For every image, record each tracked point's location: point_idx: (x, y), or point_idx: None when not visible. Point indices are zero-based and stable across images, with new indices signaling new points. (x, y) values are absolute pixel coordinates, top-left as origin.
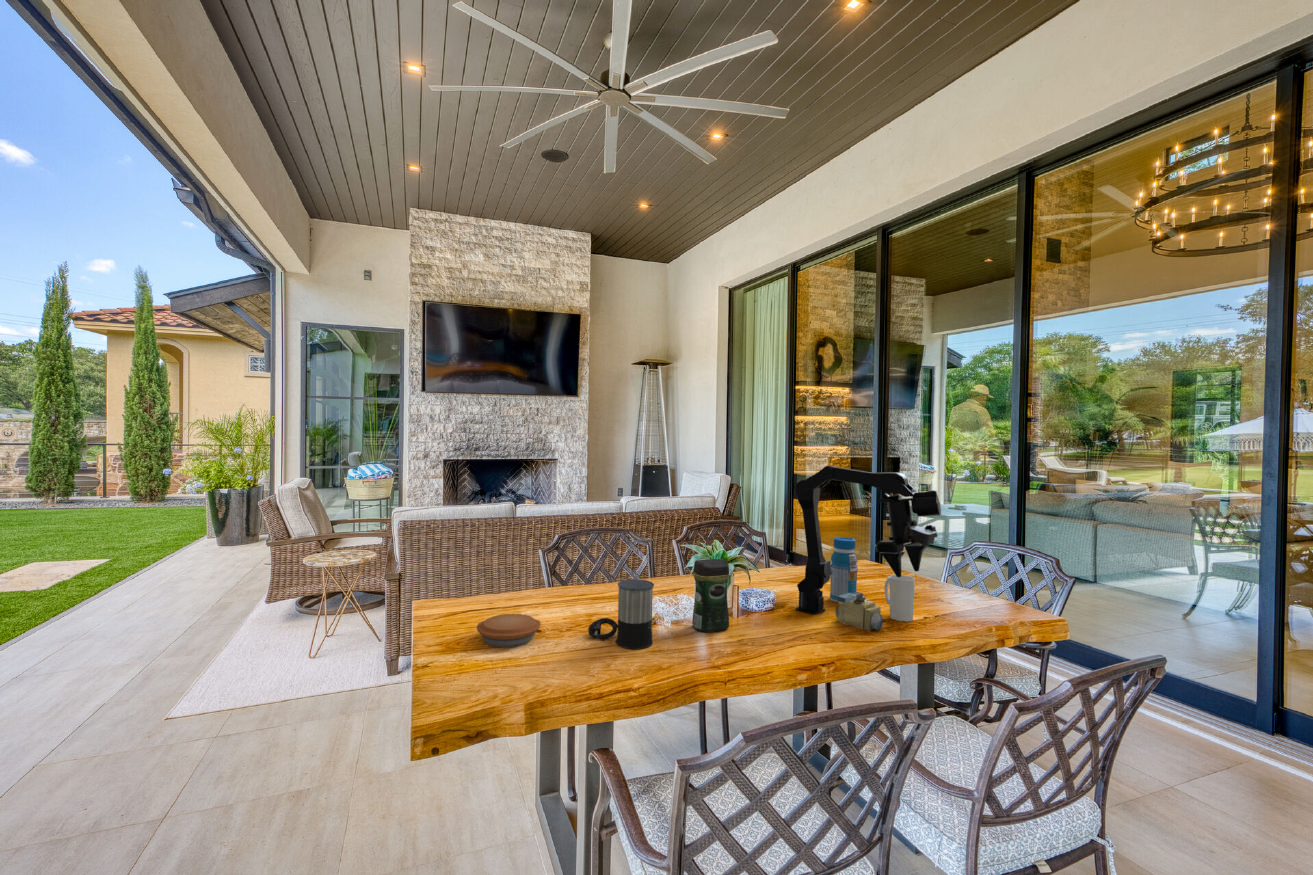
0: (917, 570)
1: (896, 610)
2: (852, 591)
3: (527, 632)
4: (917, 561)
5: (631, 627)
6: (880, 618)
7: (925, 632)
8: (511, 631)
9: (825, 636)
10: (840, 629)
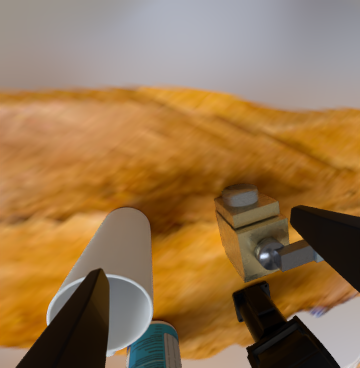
0: (102, 272)
1: (149, 231)
2: (152, 347)
3: None
4: (74, 351)
5: None
6: (237, 193)
7: (151, 142)
8: None
9: (330, 192)
10: (285, 211)
